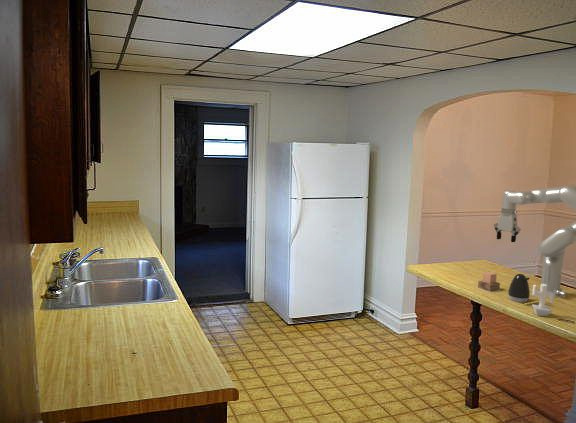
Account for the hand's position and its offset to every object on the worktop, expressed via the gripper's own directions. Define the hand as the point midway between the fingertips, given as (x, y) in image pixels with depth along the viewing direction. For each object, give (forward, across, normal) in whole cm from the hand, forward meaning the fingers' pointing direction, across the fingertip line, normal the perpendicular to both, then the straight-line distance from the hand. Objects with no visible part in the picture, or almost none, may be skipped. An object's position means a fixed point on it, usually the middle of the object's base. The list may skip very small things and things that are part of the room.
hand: (505, 240), depth 295 cm
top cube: (+21, -7, +21) cm, 31 cm away
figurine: (+26, -46, +32) cm, 62 cm away
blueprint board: (+26, -10, +16) cm, 32 cm away
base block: (+25, -7, +21) cm, 33 cm away
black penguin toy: (+26, -28, +24) cm, 45 cm away
